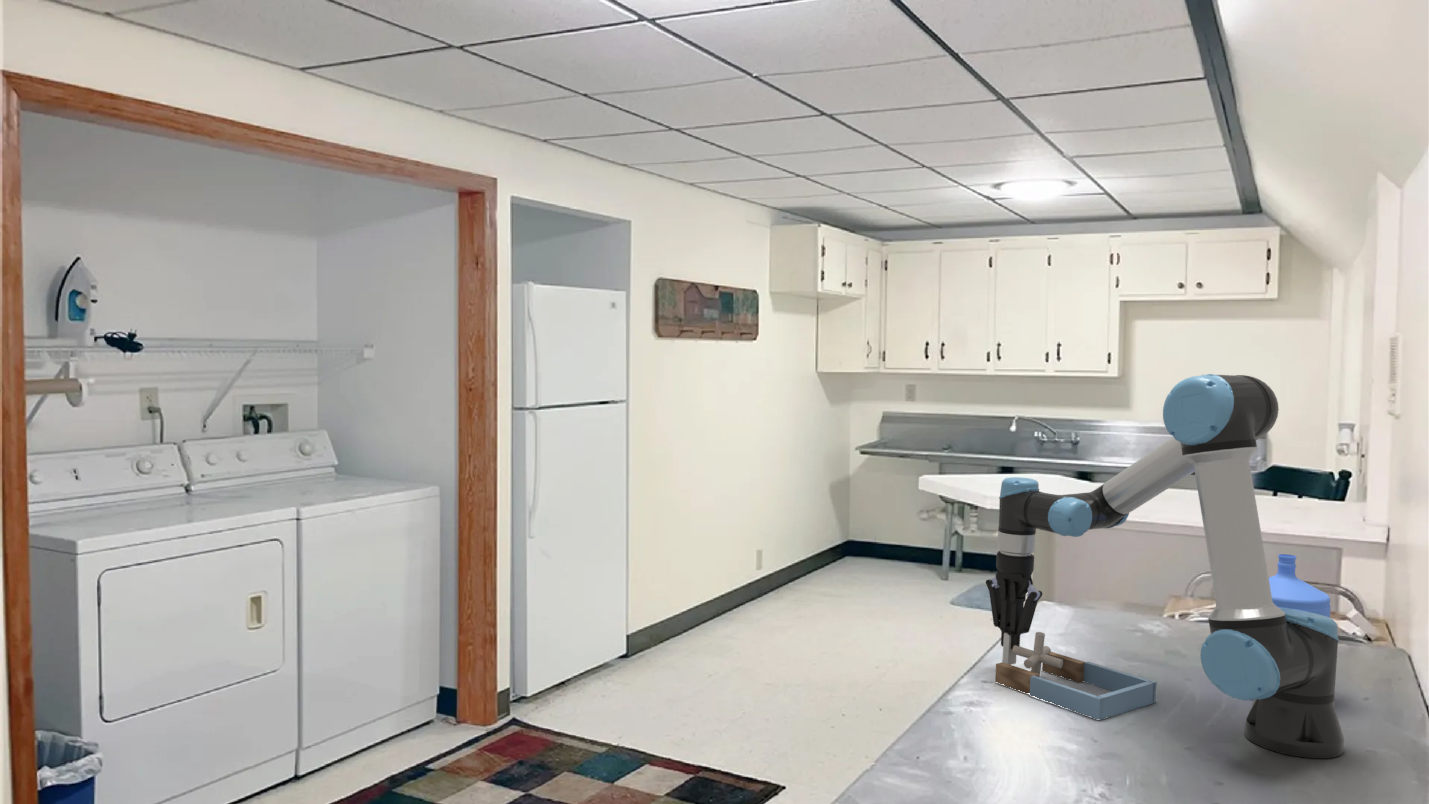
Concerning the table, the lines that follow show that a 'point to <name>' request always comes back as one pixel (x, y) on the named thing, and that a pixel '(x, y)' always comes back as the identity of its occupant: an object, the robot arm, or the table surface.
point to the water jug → (1296, 590)
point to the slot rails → (1021, 677)
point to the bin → (1124, 697)
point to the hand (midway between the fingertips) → (1009, 663)
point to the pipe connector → (1037, 655)
